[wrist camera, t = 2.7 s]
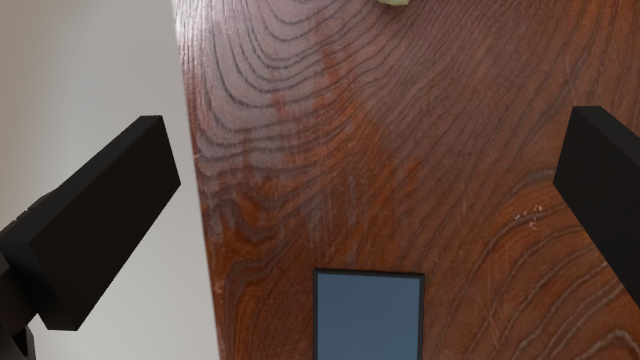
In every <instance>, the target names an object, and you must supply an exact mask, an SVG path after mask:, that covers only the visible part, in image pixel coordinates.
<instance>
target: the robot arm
mask: <svg viewBox="0 0 640 360" xmlns="http://www.w3.org/2000/svg"><path fill="white" fill-rule="evenodd" d="M180 185H181V182H180V179H179V175H178V171H177V168H176V164H175V160H174V157H173V153H172V150H171V146H170V143H169V139H168V135H167V132H166V128H165V124H164V121H163V117H162V116H161V115H157V116H156V115H154V116H140V117H139V118H138V119H137V120H135V121H134V122H133V123H132V124H131V125H129V126H128V127H127V128H126V129H125V130H124V131H123V132H121V133H120V134H119V135H118V136H117V137H116V138H114V139H113V140H112V141H111V142H110V143H109V144H108V145H106V146H105V147H104V148H103V149H102V150H101V151H99V152H98V153H97V154H96V155H95V156H94V157H92V158H91V159H90V160H89V161H88V162H87V163H85V164H84V165H83V166H82V167H81V168H80V169H79V170H77V171H76V172H75V173H74V174H73V175H72V176H71V177H69V178H68V179H67V180H66V181H65V182H64V183H62V184H61V185H60V186H59V187H58V188H56V189H55V190H53V191H51V192H49V193H47V194H46V195H44V196H42V197H40V198H39V199H38V200H37V201H36V202H35V203H33V204H32V205H31V206H30V207H29V208H28V210H27V211H24V212H23V213H22V214H21V215H19V216H18V217H17V218H16V219H17V220H16V221H15V220H14V221H12V222H11V223H10V224H9V225H8V226H6V227H5V228H4V229H3V230H2V231H0V360H36V355H35V346H34V338H33V334H32V333H31V330H30V329H29V327H28V326H27V325H28V323H29V322H30V321H31V320H32V319H33V318H34V316H35V315H36V314H37V313H38V314H39V316H40V318H41V319H42V321H43V322H44V324H45V326H46V328H47V329H48V330H65V331H77V330H78V329H79V327H80V326H81V325H82V323H83V322H84V320H85V319H86V317H87V316H88V315H89V313H90V312H91V311H92V309H93V308H94V306H95V305H96V303H97V302H98V300H99V299H100V298H101V296H102V295H103V294H104V292H105V291H106V289H107V288H108V287H109V285H110V284H111V282H112V281H113V279H114V278H115V276H116V275H117V274H118V272H119V271H120V270H121V268H122V267H123V265H124V264H125V262H126V261H127V260H128V258H129V257H130V255H131V254H132V253H133V251H134V250H135V248H136V247H137V246H138V244H139V243H140V241H141V240H142V238H143V237H144V236H145V234H146V233H147V231H148V230H149V229H150V227H151V226H152V224H153V223H154V222H155V220H156V219H157V217H158V216H159V214H160V213H161V212H162V210H163V209H164V207H165V206H166V205H167V203H168V202H169V200H170V199H171V198H172V196H173V195H174V193H175V192H176V190H177V189H178V188H179V186H180ZM553 185H554V186H555V188H556V189H557V190H558V192H559V193H560V195H561V196H562V198H563V199H564V201H565V202H566V203H567V205H568V206H569V208H570V209H571V211H572V212H573V213H574V215H575V216H576V218H577V219H578V221H579V222H580V224H581V225H582V226H583V228H584V229H585V231H586V232H587V234H588V235H589V237H590V238H591V239H592V241H593V242H594V244H595V245H596V247H597V248H598V250H599V251H600V252H601V254H602V255H603V257H604V258H605V260H606V261H607V263H608V264H609V265H610V267H611V268H612V270H613V271H614V273H615V274H616V276H617V277H618V278H619V280H620V281H621V283H622V284H623V286H624V287H625V288H626V290H627V291H628V293H629V294H630V296H631V297H632V299H633V300H634V301H635V303H636V304H637V306H638V307H639V309H640V138H639V137H638V136H637V135H635V134H634V133H633V132H632V131H631V130H629V129H628V128H627V127H626V126H624V125H623V124H622V123H621V122H619V121H618V120H617V119H616V118H615V117H613V116H612V115H611V114H610V113H608V112H607V111H606V110H605V109H603V108H602V107H601V106H573V108H572V112H571V116H570V120H569V124H568V127H567V131H566V135H565V139H564V142H563V146H562V150H561V154H560V158H559V161H558V165H557V169H556V173H555V177H554V180H553Z"/></svg>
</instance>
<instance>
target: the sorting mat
mask: <svg viewBox="0 0 640 360" xmlns="http://www.w3.org/2000/svg"><path fill="white" fill-rule="evenodd" d="M424 287H425V276H424V274H416V273H396V272H375V271H355V270H335V269H314V271H313V360H422V342H423V315H424Z"/></svg>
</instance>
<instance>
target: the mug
mask: <svg viewBox="0 0 640 360" xmlns="http://www.w3.org/2000/svg"><path fill="white" fill-rule="evenodd" d="M378 1H379V2H381V3H384V4H389V5H393V6H398V5H406V4H408V3H409V1H410V0H378Z"/></svg>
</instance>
